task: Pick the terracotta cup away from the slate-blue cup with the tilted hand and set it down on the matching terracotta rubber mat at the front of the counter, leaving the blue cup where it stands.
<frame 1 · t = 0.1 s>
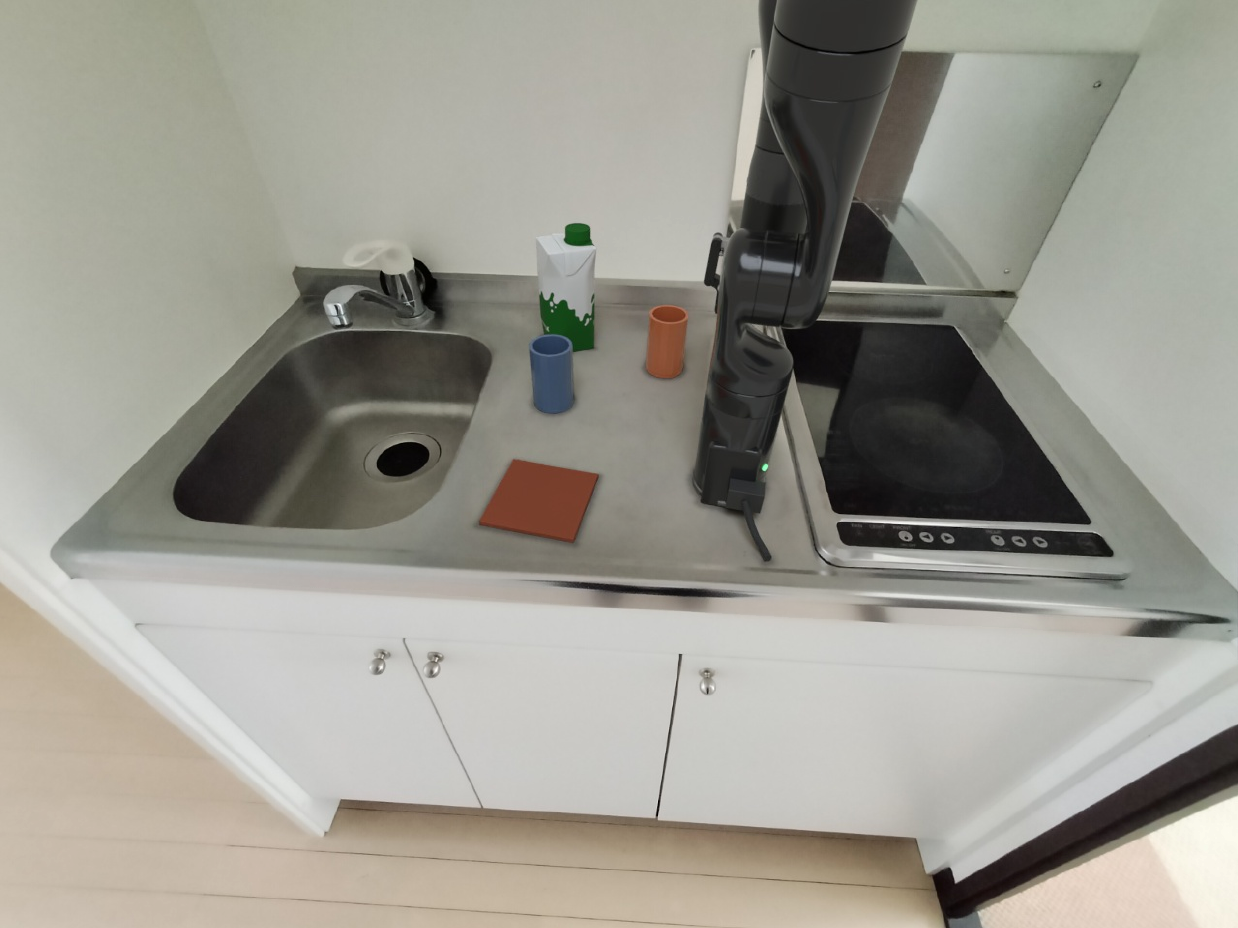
hand: (754, 320, 78), 17 cm above the counter, tool pointing down, fingers open, 8 cm apart
milk carton: (568, 343, 107), on the counter
blue cup: (553, 401, 93), on the counter
clay cup: (664, 368, 101), on the counter
clay mat: (541, 499, 77), on the counter
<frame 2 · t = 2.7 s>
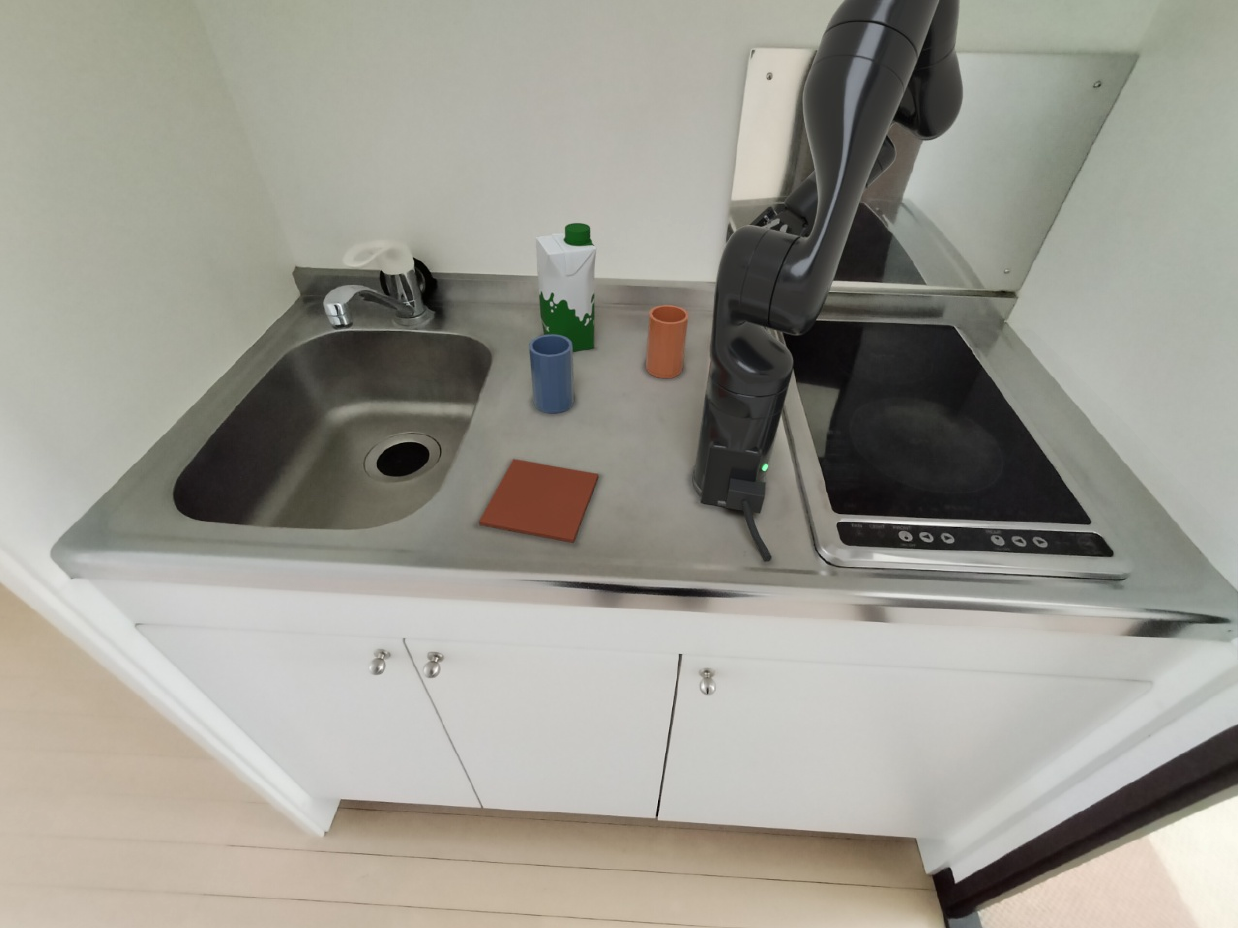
hand: (741, 277, 94), 15 cm above the counter, tool tilted 45°, fingers open, 8 cm apart
nothing on the counter moved.
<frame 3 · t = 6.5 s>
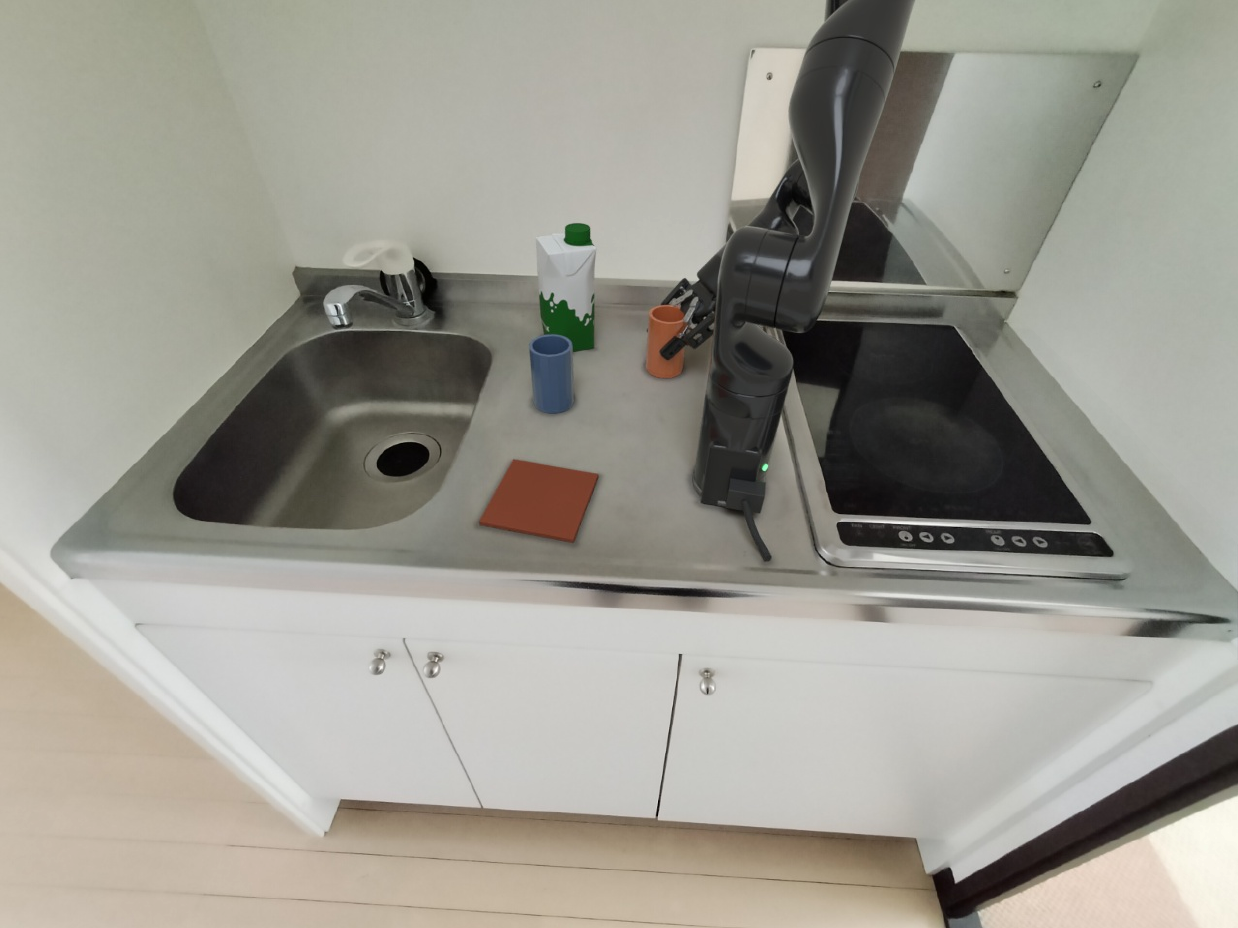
hand: (656, 345, 98), 5 cm above the counter, tool tilted 45°, fingers closed on clay cup, 6 cm apart
clay cup: (664, 368, 101), on the counter, touching gripper
everything else where it was.
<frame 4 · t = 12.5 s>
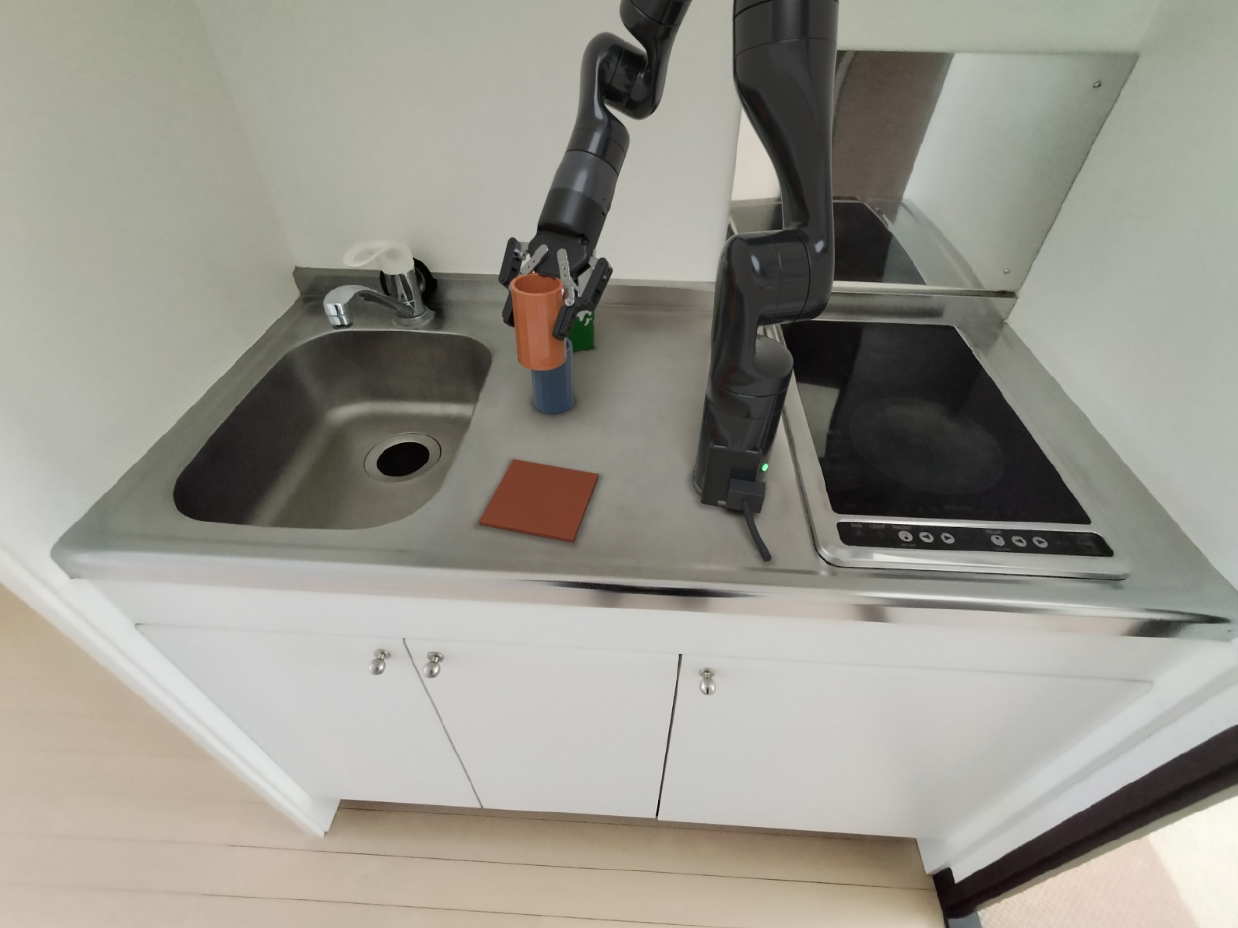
hand: (533, 331, 73), 18 cm above the counter, tool tilted 45°, fingers closed on clay cup, 6 cm apart
clay cup: (542, 357, 77), point 14 cm above the counter, touching gripper
everything else where it was.
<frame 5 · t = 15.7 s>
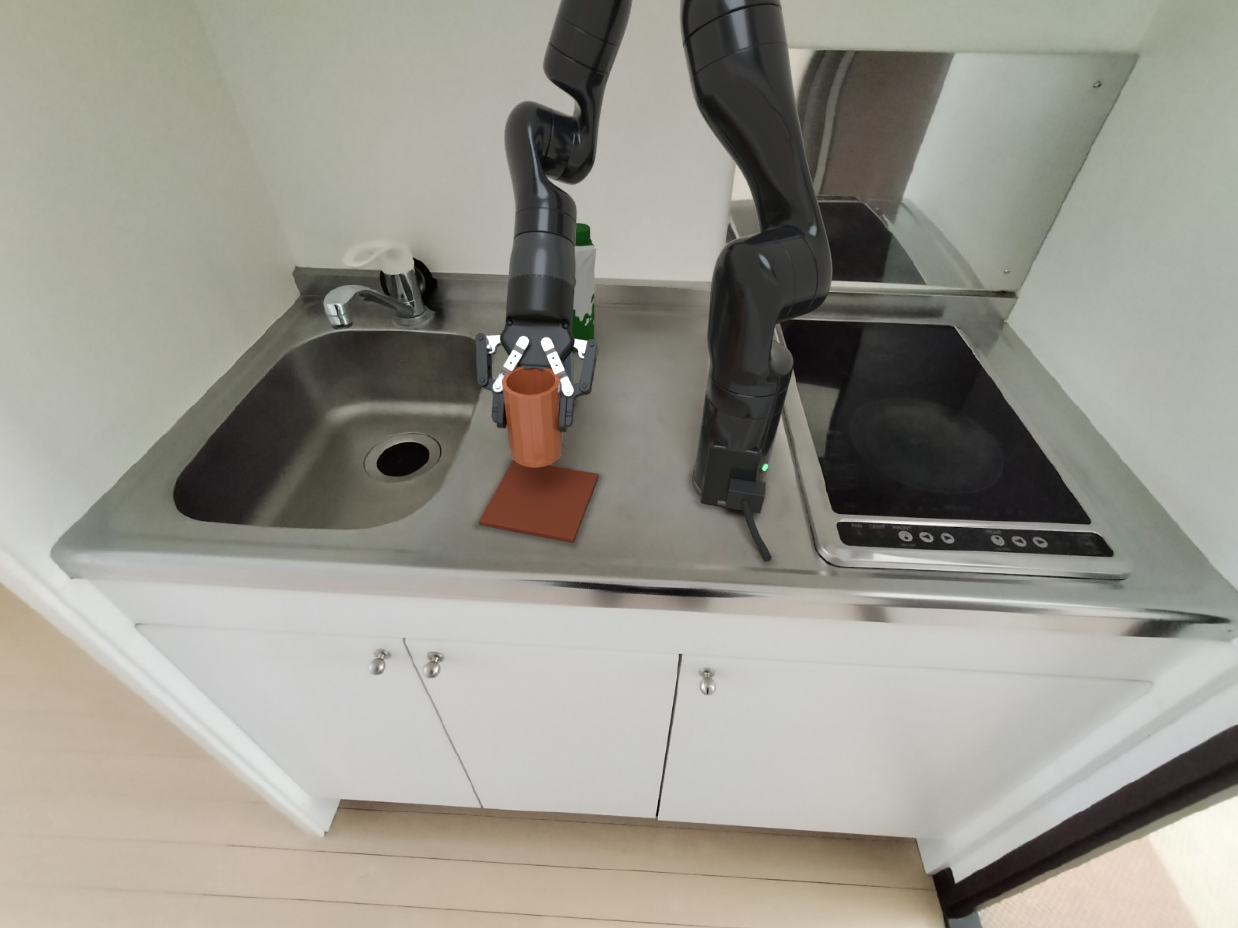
hand: (532, 429, 67), 13 cm above the counter, tool tilted 45°, fingers closed on clay cup, 6 cm apart
clay cup: (536, 450, 72), point 8 cm above the counter, touching gripper
everything else where it was.
when the fingers open (5 cm above the counter, at t = 18.3 s): clay cup stays where it is, resting on clay mat.
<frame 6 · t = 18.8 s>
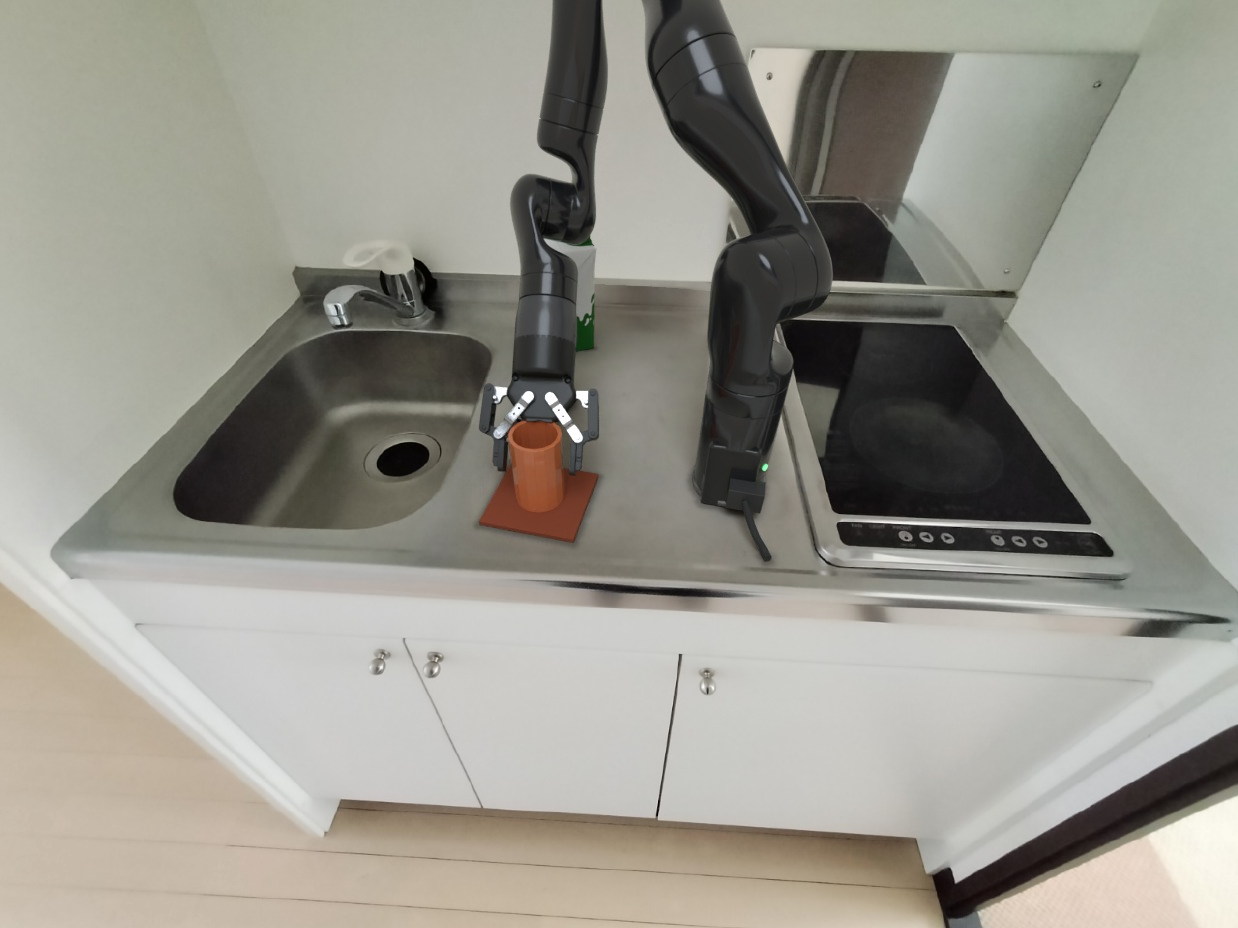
hand: (537, 473, 72), 6 cm above the counter, tool tilted 45°, fingers open, 8 cm apart
clay cup: (540, 495, 77), point 1 cm above the counter, touching clay mat
everything else where it was.
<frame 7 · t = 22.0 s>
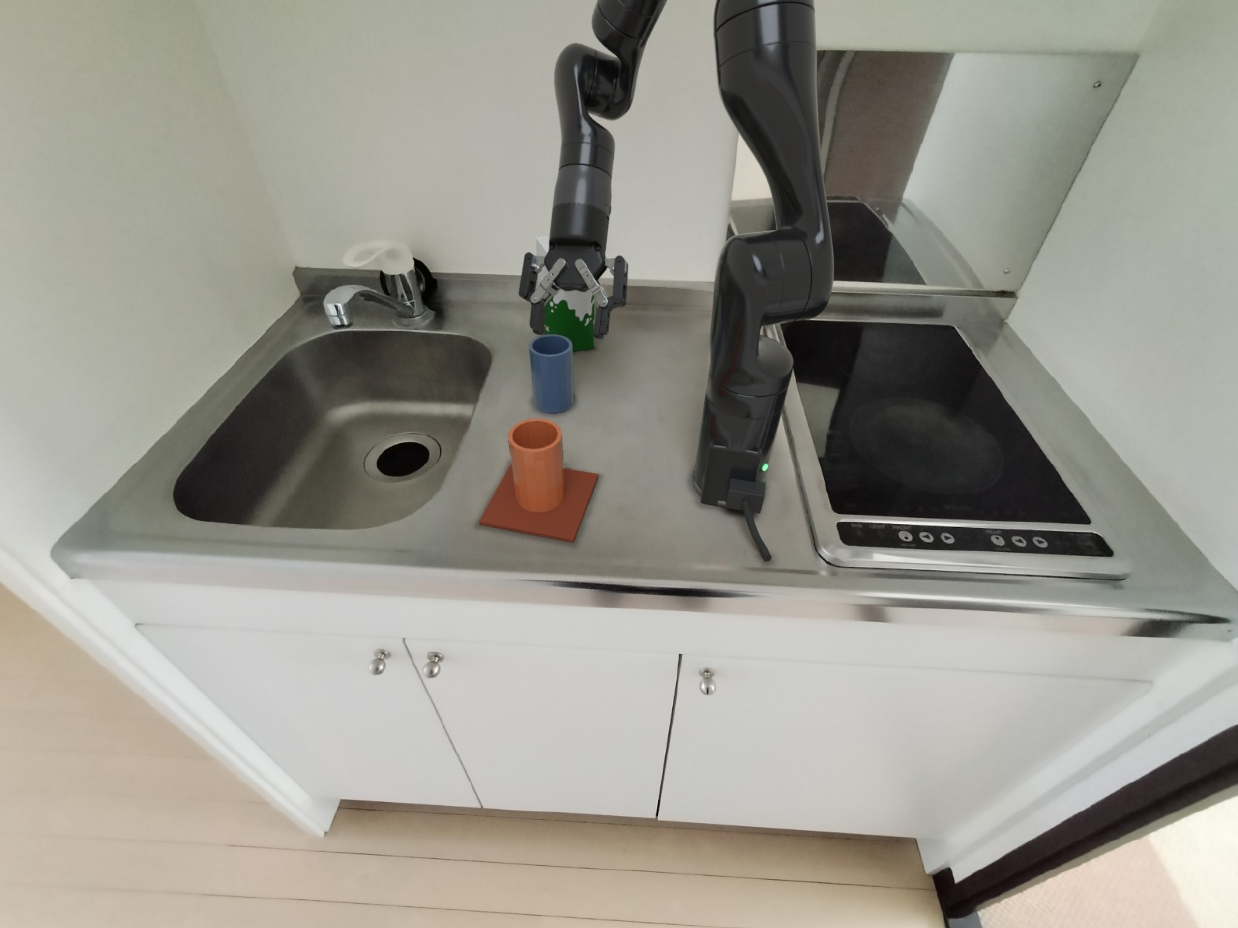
hand: (567, 336, 79), 15 cm above the counter, tool tilted 40°, fingers open, 8 cm apart
nothing on the counter moved.
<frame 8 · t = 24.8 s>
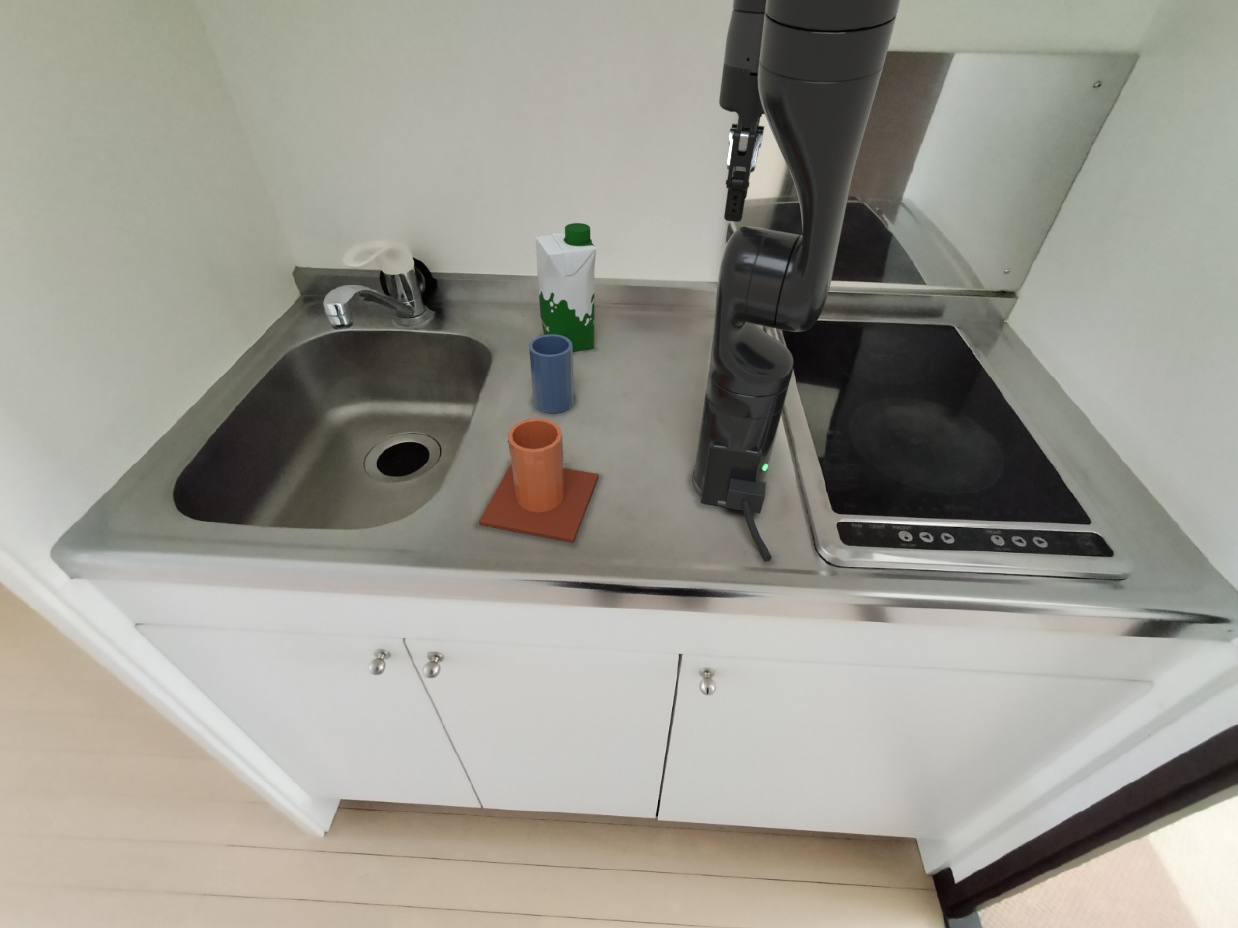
hand: (735, 209, 78), 28 cm above the counter, tool pointing down, fingers open, 8 cm apart
nothing on the counter moved.
at the end: clay cup inside the target area on the clay mat (0.2 cm from its centre), point 0.6 cm above the clay mat's base; clay cup tilted 0°; blue cup moved 0.0 cm from its start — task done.
